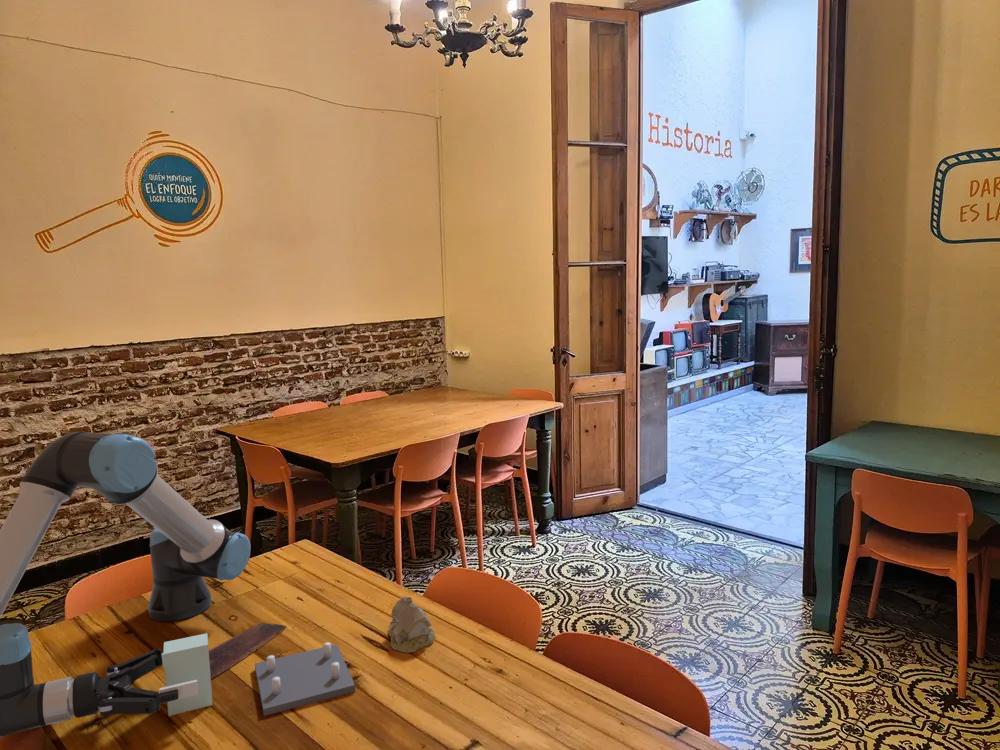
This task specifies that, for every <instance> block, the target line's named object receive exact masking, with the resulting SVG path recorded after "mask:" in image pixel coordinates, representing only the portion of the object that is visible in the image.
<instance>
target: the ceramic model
mask: <svg viewBox="0 0 1000 750" xmlns="http://www.w3.org/2000/svg"><path fill="white" fill-rule="evenodd" d="M391 618H392V619H391V621H390V622H389V629H388V632H387V633H388V635H389V637H390V646H391V648H392V649H394V650H395V651H398V652H402V653H414V652H416V651H418V650H419V649H423V648H425V647H424V646H426V647H427V646H430V644H431V645H432V644H433V643H434V642H435V640H434V639H436V631H434V629H433V628H431V627H432V623H431V621H430V619H429V618H428V616H427V614H426V612H425V611H424V609H423V608H421V607H419V606H418V605H417V604H415V603H414V602H413V599H412V597H411V596H406V595H405V596H402V597H401V598H400V599H399V600H397V601H396V603H394V606H393V607H392V611H391ZM433 641H434V642H433Z"/></svg>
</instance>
